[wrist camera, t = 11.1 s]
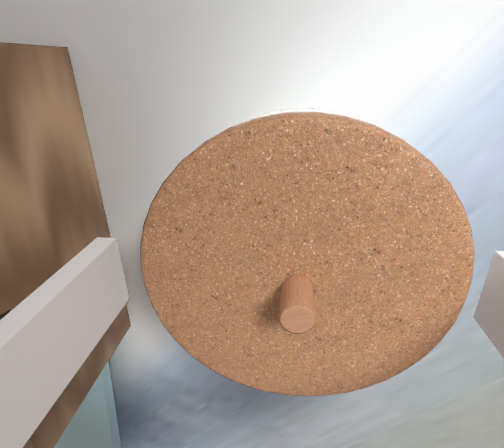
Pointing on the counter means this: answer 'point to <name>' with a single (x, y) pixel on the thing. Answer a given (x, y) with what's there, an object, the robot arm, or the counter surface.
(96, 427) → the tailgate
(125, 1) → the counter surface
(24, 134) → the open wooden tray
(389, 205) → the lidded jar
